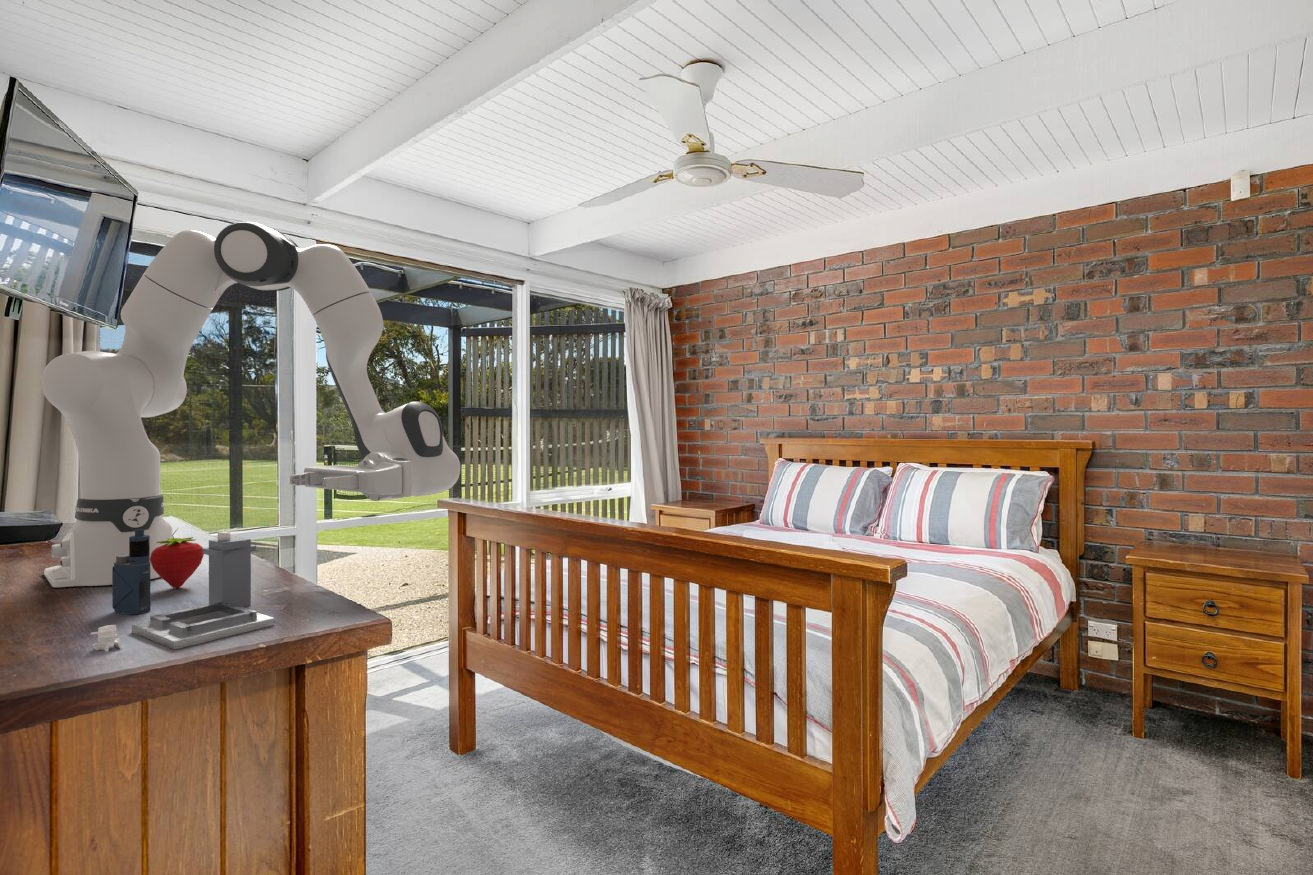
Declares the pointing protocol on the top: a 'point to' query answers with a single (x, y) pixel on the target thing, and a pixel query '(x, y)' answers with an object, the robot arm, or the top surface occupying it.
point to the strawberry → (176, 560)
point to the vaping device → (132, 577)
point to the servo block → (230, 569)
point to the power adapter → (106, 638)
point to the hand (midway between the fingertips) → (308, 481)
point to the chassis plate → (201, 624)
